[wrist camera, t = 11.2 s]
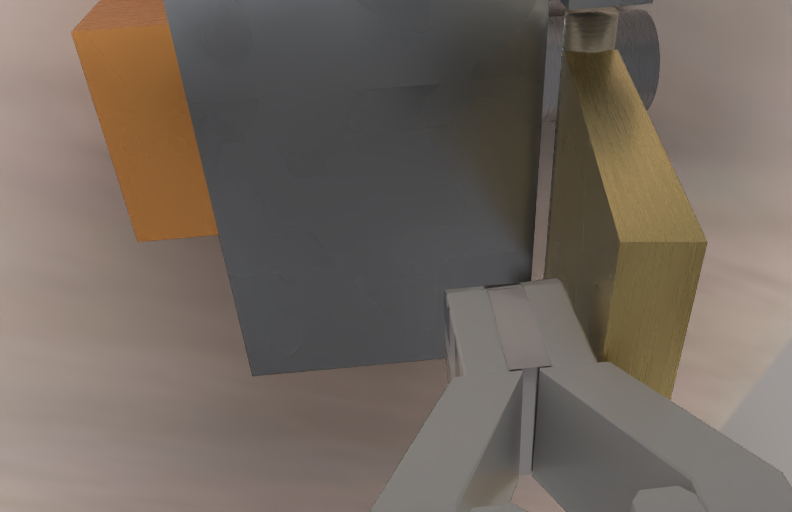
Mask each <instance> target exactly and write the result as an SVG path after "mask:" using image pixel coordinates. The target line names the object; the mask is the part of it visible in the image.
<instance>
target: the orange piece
mask: <svg viewBox="0 0 792 512" xmlns="http://www.w3.org/2000/svg"><path fill="white" fill-rule="evenodd" d="M563 28H564V16H554V17H548V32H547V47H546V62H545V78H544V93H543V108H542V122H550V121H556V117H557V104H558V91H559V78H560V66H561V53H562V40H563ZM71 33H72V36H73V39H74V42H75V46H76V49H77V52H78V55H79V58H80V61H81V65H82V68H83V71H84V74H85V77H86V80H87V83H88V87H89V90H90V93H91V96H92V99H93V102H94V105H95V109H96V112H97V115H98V118H99V121H100V124H101V127H102V131H103V134H104V137H105V140H106V143H107V146H108V149H109V153H110V156H111V159H112V162H113V165H114V168H115V172H116V175H117V178H118V181H119V184H120V187H121V190H122V194H123V197H124V200H125V203H126V206H127V209H128V212H129V216H130V219H131V222H132V225H133V228H134V231H135V234H136V238H137V241H138V242H142V241H154V240H165V239H177V238H188V237H200V236H211V235H219V234H218V230H217V225H216V221H215V217H214V213H213V209H212V204H211V200H210V196H209V192H208V188H207V183H206V179H205V175H204V171H203V167H202V162H201V158H200V154H199V150H198V146H197V141H196V137H195V133H194V129H193V125H192V120H191V116H190V112H189V108H188V103H187V99H186V95H185V91H184V87H183V82H182V78H181V74H180V70H179V66H178V61H177V57H176V53H175V49H174V45H173V40H172V36H171V32H170V28H169V24H168V19H167V15H166V11H165V7H164V3H163V0H100V1H99V2H98V3H97V4H96V6H95V7H94V8H93V9H92V10H91V11H90V12H89V13H88V14H87V15H86V16H85V18H84V19H83V20H82V21H81V22H80V23H79V24H78V25H77V26H76V27H75V28H74V30H73V31H72V32H71ZM614 50H618V51H619V53H620V56H621V58H622V60H623V62H624V64H625V66H626V68H627V71H628V73H629V75H630V77H631V79H632V81H633V83H634V86H635V88H636V90H637V92H638V94H639V96H640V98H641V101H642V103H643V105H644V107H645V109H646V111H647V110H648V109H649V107H650V105H651V104H652V101H653V99H654V96H655V93H656V89H657V84H658V78H659V68H660V53H659V42H658V36H657V32H656V28H655V25H654V22H653V20H652V18H651V16H650V15H649V14H648V13H647V12H646V11H645V10H629V11H619V15H618V23H617V31H616V40H615V48H614Z"/></svg>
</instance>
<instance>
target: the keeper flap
mask: <svg viewBox="0 0 792 512" xmlns="http://www.w3.org/2000/svg"><path fill="white" fill-rule="evenodd" d="M618 15H619V10H618V9H616V8H615V7H600V8H588V9H575V10H568V9H566V10H565V15H564V28H563V40H562V53H561V66H560V78H559V91H558V104H557V117H556V129H555V142H554V155H553V167H552V180H551V193H550V206H549V218H548V231H547V244H546V256H545V269H544V280H545V279H553V278H557V279H559V280H560V281H561V282H562V283H563V284H564V286H565V289H566V291H567V293H568V295H569V299H570V301H571V303H572V305H573V308H574V310H575V312H576V315H577V317H578V319H579V321H580V323H581V325H582V327H583V330H584V332H585V334H586V337H587V339H588V342H589V344H590V346H591V348H592V351H593V353H594V355H595V357H596V360H597V362H611V363H613V364H614V365H616V366H617V367H619V368H620V369H622V370H623V371H625V372H627V373H628V374H630V375H631V376H633V377H634V378H636V379H638V380H639V381H641V382H642V383H644V384H645V385H647V386H648V387H650V388H652V389H653V390H655V391H656V392H658V393H659V394H661V395H663V396H664V397H666V398H667V399H669V400H670V399H671V395H672V391H673V387H674V382H675V378H676V374H677V370H678V365H679V361H680V357H681V353H682V348H683V344H684V340H685V336H686V331H687V327H688V323H689V319H690V314H691V310H692V306H693V301H694V297H695V293H696V289H697V284H698V280H699V276H700V272H701V267H702V263H703V259H704V255H705V250H706V246H707V240H706V238H705V236H704V234H703V231H702V229H701V227H700V225H699V223H698V221H697V219H696V216H695V214H694V212H693V210H692V208H691V206H690V204H689V201H688V199H687V197H686V195H685V193H684V191H683V189H682V186H681V184H680V182H679V180H678V178H677V176H676V174H675V171H674V169H673V167H672V165H671V163H670V161H669V159H668V156H667V154H666V152H665V150H664V148H663V146H662V144H661V141H660V139H659V137H658V135H657V133H656V131H655V129H654V126H653V124H652V122H651V120H650V118H649V116H648V114H647V111H646V109H645V107H644V105H643V103H642V101H641V98H640V96H639V94H638V92H637V90H636V88H635V86H634V83H633V81H632V79H631V77H630V75H629V73H628V71H627V68H626V66H625V64H624V62H623V60H622V58H621V56H620V53H619V51H618V50H614V48H615V40H616V31H617V23H618Z"/></svg>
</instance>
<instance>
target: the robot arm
mask: <svg viewBox="0 0 792 512" xmlns="http://www.w3.org/2000/svg"><path fill="white" fill-rule="evenodd" d="M444 319H445V340H446V341H445V352H446V366H447V378H448V385H447V387H446V389H445V390H444V392H443V393H442V395H441V397H440V398H439V400H438V402H437V403H436V405H435V406H434V408H433V410H432V411H431V413H430V415H429V416H428V418H427V419H426V421H425V423H424V424H423V426H422V428H421V429H420V431H419V432H418V434H417V436H416V437H415V439H414V441H413V442H412V444H411V445H410V447H409V449H408V450H407V452H406V454H405V455H404V457H403V458H402V460H401V462H400V463H399V465H398V467H397V468H396V470H395V472H394V473H393V475H392V476H391V478H390V480H389V481H388V483H387V485H386V486H385V488H384V489H383V491H382V493H381V494H380V496H379V498H378V499H377V501H376V502H375V504H374V506H373V507H372V509H371V511H370V512H527V511H526V510H524V509H522V508H520V507H518V506H517V505H515V504H513V503H510V500H511V498H512V495H513V493H514V490H515V487H516V485H517V482H518V480H519V475H520V474H530V473H532V477H533V478H534V479H535V480H536V481H537V482H538V483H539V484H540V485H541V486H542V487H543V488H544V489H545V490H546V491H547V492H548V493H549V494H550V495H551V496H552V497H553V498H554V499H555V500H556V501H557V502H558V503H559V505H560V506H561V507H562V508H563V509H564V510H565V511H566V512H792V487H791V485H790V484H789V482H788V481H787V479H786V477H785V476H784V474H783V472H781V471H779V470H778V469H776V468H775V467H773V466H772V465H770V464H769V463H767V462H766V461H764V460H762V459H761V458H759V457H758V456H756V455H754V454H753V453H751V452H750V451H748V450H747V449H745V448H743V447H742V446H740V445H739V444H737V443H736V442H734V441H733V440H731V439H729V438H728V437H726V436H725V435H723V434H722V433H720V432H719V431H717V430H716V429H714V428H712V427H711V426H709V425H708V424H706V423H705V422H703V421H702V420H700V419H698V418H697V417H695V416H694V415H692V414H691V413H689V412H687V411H686V410H684V409H683V408H681V407H680V406H678V405H677V404H675V403H673V402H672V401H670V400H669V399H667V398H666V397H664V396H663V395H661V394H659V393H658V392H656V391H655V390H653V389H652V388H650V387H648V386H647V385H645V384H644V383H642V382H641V381H639V380H638V379H636V378H634V377H633V376H631V375H630V374H628V373H627V372H625V371H623V370H622V369H620V368H619V367H617V366H616V365H614V364H613V363H611V362H597V360H596V357H595V355H594V353H593V351H592V348H591V346H590V344H589V342H588V339H587V337H586V334H585V332H584V330H583V327H582V325H581V323H580V321H579V319H578V317H577V315H576V312H575V310H574V308H573V305H572V303H571V301H570V299H569V295H568V293H567V291H566V289H565V286H564V284H563V283H562V282H561V281H560V280H559V279H557V278H553V279H545V280H537V281H529V282H521V283H512V284H499V285H486V286H484V287H483V286H478V287H467V288H455V289H446V290H445V292H444Z"/></svg>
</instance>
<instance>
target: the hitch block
mask: <svg viewBox="0 0 792 512" xmlns="http://www.w3.org/2000/svg"><path fill="white" fill-rule="evenodd" d="M560 1H561V2H562V3H563V5H564V6H565V7H566V8H567V9H568V10H575V9H588V8H600V7H613V6H626V5H638V4H651V3H653V0H560ZM549 2H550V0H163V3H164V7H165V11H166V15H167V19H168V24H169V28H170V32H171V36H172V40H173V45H174V49H175V53H176V57H177V61H178V66H179V70H180V74H181V78H182V82H183V87H184V91H185V95H186V99H187V103H188V108H189V112H190V116H191V120H192V125H193V129H194V133H195V137H196V141H197V146H198V150H199V154H200V158H201V162H202V167H203V171H204V175H205V179H206V183H207V188H208V192H209V196H210V200H211V204H212V209H213V213H214V217H215V221H216V225H217V230H218V234H219V238H220V242H221V247H222V251H223V255H224V259H225V263H226V268H227V272H228V276H229V280H230V284H231V289H232V293H233V297H234V301H235V305H236V310H237V314H238V318H239V322H240V326H241V331H242V335H243V339H244V343H245V347H246V352H247V356H248V360H249V364H250V368H251V373H252V376H260V375H271V374H282V373H292V372H303V371H314V370H325V369H335V368H346V367H357V366H368V365H379V364H389V363H400V362H411V361H422V360H433V359H443V358H446V352H445V341H446V340H445V319H444V292H445V290H446V289H455V288H467V287H478V286H483V287H484V286H486V285H499V284H512V283H521V282H529V281H531V274H532V259H533V244H534V229H535V214H536V199H537V184H538V168H539V153H540V138H541V123H542V108H543V93H544V78H545V62H546V47H547V32H548V17H549Z"/></svg>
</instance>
